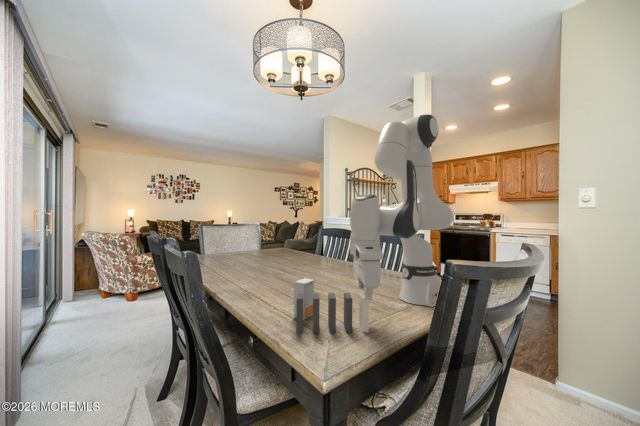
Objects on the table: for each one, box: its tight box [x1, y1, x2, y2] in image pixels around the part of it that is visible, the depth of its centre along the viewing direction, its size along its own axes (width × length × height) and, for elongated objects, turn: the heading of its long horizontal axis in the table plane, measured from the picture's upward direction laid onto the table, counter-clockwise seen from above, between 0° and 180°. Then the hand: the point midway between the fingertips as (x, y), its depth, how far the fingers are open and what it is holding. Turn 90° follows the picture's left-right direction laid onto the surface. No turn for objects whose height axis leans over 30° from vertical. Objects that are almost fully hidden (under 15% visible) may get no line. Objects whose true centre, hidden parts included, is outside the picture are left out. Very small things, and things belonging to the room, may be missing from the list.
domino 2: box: [312, 292, 320, 334], centre depth 76 cm, size 2×5×10 cm, turn 3°
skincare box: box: [293, 277, 315, 321], centre depth 86 cm, size 6×4×12 cm
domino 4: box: [343, 292, 353, 334], centre depth 77 cm, size 2×5×10 cm, turn 3°
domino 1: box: [295, 293, 304, 334], centre depth 76 cm, size 2×5×10 cm, turn 3°
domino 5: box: [358, 292, 370, 333], centre depth 77 cm, size 2×5×10 cm, turn 2°
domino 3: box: [327, 292, 337, 334], centre depth 76 cm, size 2×5×10 cm, turn 3°
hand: (364, 293), depth 78 cm, fingers open, 8 cm apart
